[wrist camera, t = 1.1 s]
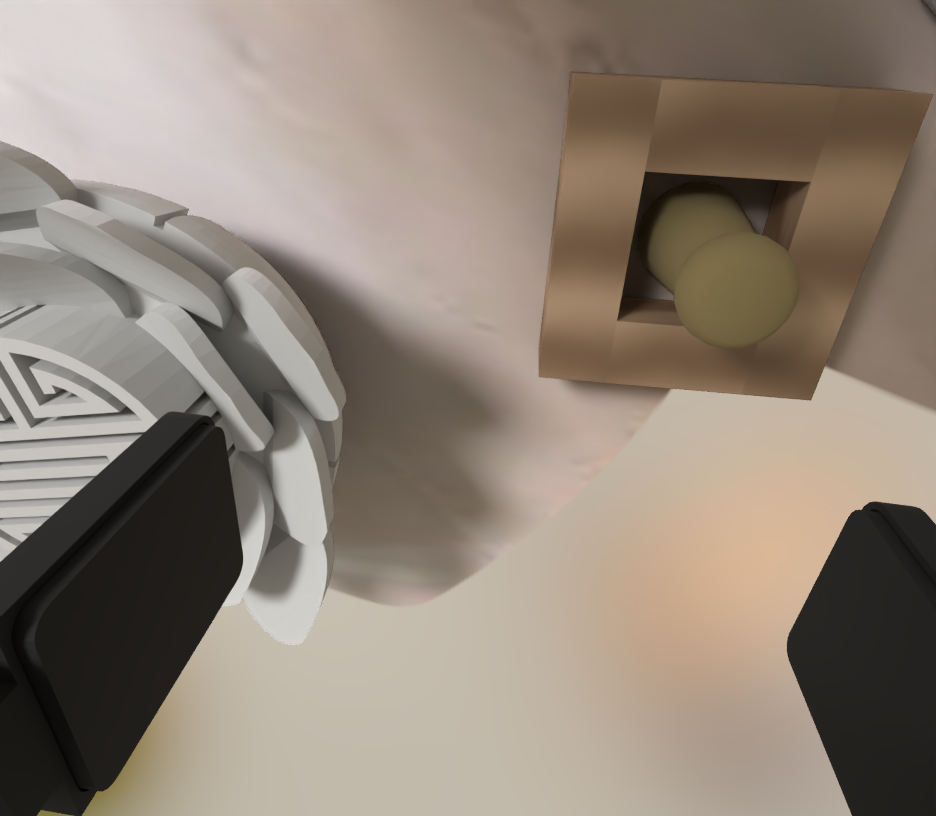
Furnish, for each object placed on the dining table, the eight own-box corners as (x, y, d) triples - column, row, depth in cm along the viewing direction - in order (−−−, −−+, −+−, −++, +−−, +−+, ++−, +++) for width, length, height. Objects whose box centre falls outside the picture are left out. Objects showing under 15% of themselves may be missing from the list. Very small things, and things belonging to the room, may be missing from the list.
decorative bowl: (348, 51, 32) (221, 57, 19) (439, 490, 47) (402, 657, 34) (-125, 130, 36) (-481, 177, 24) (95, 506, 51) (-51, 658, 39)
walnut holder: (570, 71, 31) (574, 74, 28) (889, 88, 30) (933, 94, 27) (538, 348, 40) (538, 377, 36) (786, 368, 39) (811, 400, 35)
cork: (767, 205, 34) (855, 267, 24) (708, 300, 37) (766, 387, 27) (670, 164, 33) (722, 212, 24) (618, 264, 36) (646, 340, 27)
